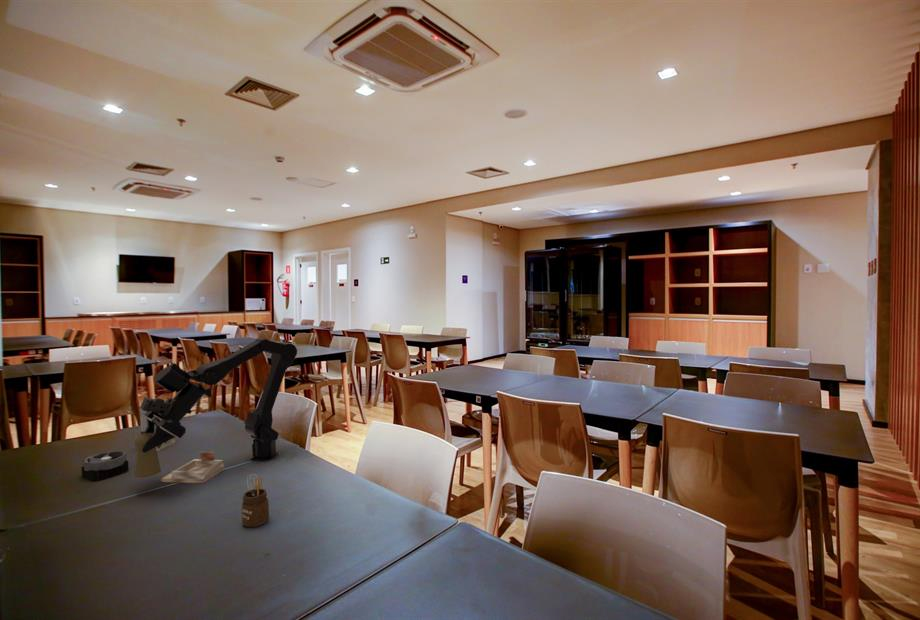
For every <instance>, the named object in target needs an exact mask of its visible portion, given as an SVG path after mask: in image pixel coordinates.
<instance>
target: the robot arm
mask: <svg viewBox="0 0 920 620" xmlns="http://www.w3.org/2000/svg"><path fill="white" fill-rule="evenodd" d="M263 352H265V353H269V354H271V355H270V362H271V367H270V370H269V373H268V376H267V378H266V381H265V383H264V384H265V385H264V387H263V389H262V393H261V395H260V398H259V400H258V404H257V407H256V408H255V409H254V411H248V413H247V415H246V419H245V420H244V423H243V424H244V425H245V426H244V430H245V432H246V433H247V434H248V435H250V437H251V439H253V441H252V444H251V451H252V452H251V453H252V455H251V456H252V457H251V458H250V460H251V461H270V460H271V459H273V458H275V457H276V456H277V455H279V451H277V442H276V441H277V440H278V437H279V435H280V432H278V431H277V430H276V429H274V428H273V427H272V426H273V419H274V418H273V409H274V406H275V402H276V400H277V396H278V394H279V392H280V389H281V386H282V383H283V380H284V378H285V374H286V371H287V370H288V368H289V367H290V366H291V365H292V364H293V363H294V361H295V359H296V357H297V354H298V349H297V346H296V345H295V344H293V343H289V342H283V341H282V342H280V341H279V342H276V341H272V340H269V339H267V338H261V337H259V338H257V339H255V340H254V341H253V342H251V343H249V344H247V345H245V346H243V347H241V348H239V349H238V350H236V351H234V352H232V353H231V354H229V355H227V356H225V357H223V358H220V359H216V360H212V361H209V362H206V363H203V364H201V365H199V366H197V368H196V369H192V370H190V371H185V370H184V369H183V368H181V367H180V366H179V365H178V364H177V363H175V362H171V363H170V364H169V365H168V366H166V367H164V368H163V369H161V370H159V372H158V373H157V374H156V375H155V376H154V378H153V382H154V383H155V384H157V385H159V386H160V387H162V388H163V389H164V390H166V391H167V392H170V393H171V394H172V393H175V392H176V393H177V394H176V395H174V397H173V398H172V397H169V398H167V401H166V402H165V400H164V399H163V398H159V397H156V398H153V397H146V396H145V397H143V400H142V402H141V404H140V406H139V410H140V409H142V410H143V411H147V412H146V413H145V414H144V415H145V416H147V417H149V418H150V419H149V420H148V419H147V418H146V423H147V427H146V429H145V431H144V433H143V434H145V433H153V434H152V436H151V437H150V439H149V440H148V441H147V443H146V444H145V446H144V447H143V449H142V452H144V453H145V452H147V451H149V450H151V449H153V448H155V447H157V446H158V445H160V444H162V443H164V442H166V441H168V440H170V439H172V438H175V439H176V437H177V438H179V439H181V438H182V437H183V436H184V435H185V434H186V433H187V432H186V427H185V426H183V425H182V423H181V421H182V420H183V419H184V418H185V417H186V415H188V414H189V415H190V414H192V412H193V410H192V409H193V407H194V406H195V405H196V404H197V403H198V402H199V401H200V399H202V397H204V396H205V397H207V398H209V399H210V398H212V396H213V395H212V388H210V387H204V386H203V385H202V384H204V385H208V386H215V385H217V384H218V383H219V382H221V381H222V380H223V379H224V378H226V377H227V376H228V375H229V373H230V372H231V371H232V370H234V369H236V368H237V367H239V366H240V365H243V364H244V363H247V362H248V361H250V360H251V359H253V358H255V357H257V356H258V355H261V354H262V353H263ZM191 381H193V382H196V383H193V382H191ZM197 382H198V383H197ZM173 435H175V436H173Z"/></svg>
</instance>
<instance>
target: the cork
mask: <svg viewBox="0 0 920 620" xmlns="http://www.w3.org/2000/svg"><path fill="white" fill-rule="evenodd" d="M152 434H153V433H145V434H141V433H140V434H138V435H137V436H136V437H135V439H134V446H135V447H136V448H137V449H136V459H135V466H134V468H135V469H134V477H135V478H141V479H143V478H148V477H152V476H155V475H157V474H159V473H161V472H162V469H161V464H160V458H159V454H158V451H157V450H156V447H155V448H153V449H151V450H149V451H147V452H145V453H144V452H142V449H143V447H144V446H145V444H146V443H147V441H148V440H149V439H150V437H151V436H152Z"/></svg>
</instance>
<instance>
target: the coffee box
mask: <svg viewBox="0 0 920 620" xmlns="http://www.w3.org/2000/svg"><path fill="white" fill-rule="evenodd" d="M167 400H168V399H167ZM167 400H164V401H165V402H166V401H167ZM146 412H147V411H143V410H142V409H140V408H139V413H140V415H139V416H140V419H139V420H140V421H139V422H140V435H141V434H143V433H144V431H145V429H146V427H147V423H146V418H147V419H148V420H149V419H150V418H149V417H147V416H145V415H144V414H145V413H146ZM173 436H175V438H172V439H170V440H168V441H166V442H164V443H162V444H160V445H158V446H157V447H156V450H157V452H160V451H162V450H164V449H166V448H169V446H172V445H174V444H175V443H176V440H175V439H176V435H173Z"/></svg>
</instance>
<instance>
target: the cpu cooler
mask: <svg viewBox="0 0 920 620" xmlns="http://www.w3.org/2000/svg"><path fill="white" fill-rule="evenodd" d="M82 461H83V466H81V477H82V478H84V479H85V480H87V481H90V482H94V483H95V482H100V481H103V480H106V479H109V478H113V477H115V476H119V475H123V474H125V473H128V471H130V469H129V460H127V452H126V451H120V450H119V451H118V450H116V451H114V450H113V451H107V452H102V453H97V454H94V455H90V456H88V457H86V458H83V460H82Z"/></svg>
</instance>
